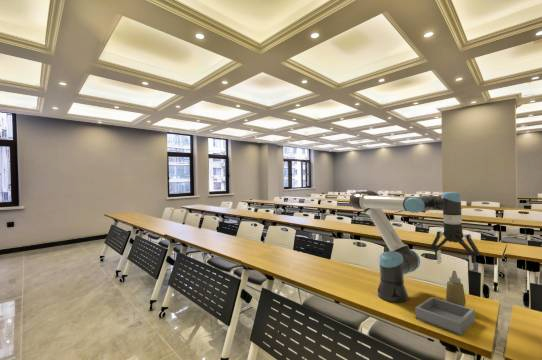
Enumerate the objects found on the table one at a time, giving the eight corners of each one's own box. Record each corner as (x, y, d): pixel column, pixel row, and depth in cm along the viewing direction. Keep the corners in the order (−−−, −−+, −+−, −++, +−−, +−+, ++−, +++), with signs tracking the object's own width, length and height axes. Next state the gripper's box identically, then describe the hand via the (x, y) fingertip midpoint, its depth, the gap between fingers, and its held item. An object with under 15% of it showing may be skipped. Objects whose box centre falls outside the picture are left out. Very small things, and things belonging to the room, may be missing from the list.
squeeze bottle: (448, 310, 124) (447, 272, 124) (444, 302, 131) (442, 267, 132) (468, 312, 121) (467, 274, 121) (463, 305, 128) (461, 269, 129)
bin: (415, 318, 117) (415, 307, 117) (432, 306, 128) (431, 296, 128) (460, 335, 103) (460, 323, 103) (474, 321, 114) (474, 309, 114)
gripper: (422, 221, 134) (424, 262, 134) (481, 226, 114) (484, 274, 114) (428, 220, 139) (430, 259, 138) (486, 224, 119) (489, 270, 118)
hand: (454, 266), depth 126 cm, fingers open, 13 cm apart
